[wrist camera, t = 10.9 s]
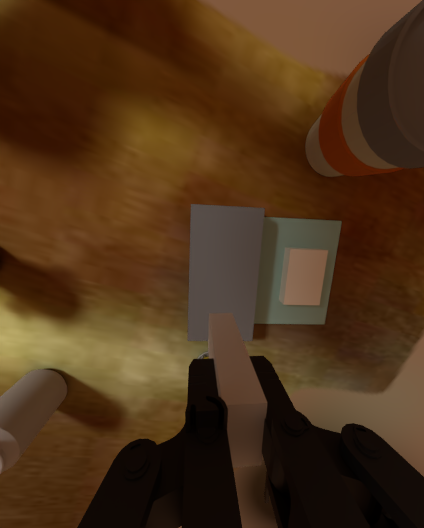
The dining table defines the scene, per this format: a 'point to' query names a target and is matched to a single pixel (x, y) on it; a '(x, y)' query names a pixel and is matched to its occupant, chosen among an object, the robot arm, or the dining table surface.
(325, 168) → the reusable coffee cup
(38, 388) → the can
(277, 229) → the mat
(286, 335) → the dining table surface
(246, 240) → the board
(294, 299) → the beige rectangular block
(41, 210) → the dining table surface
